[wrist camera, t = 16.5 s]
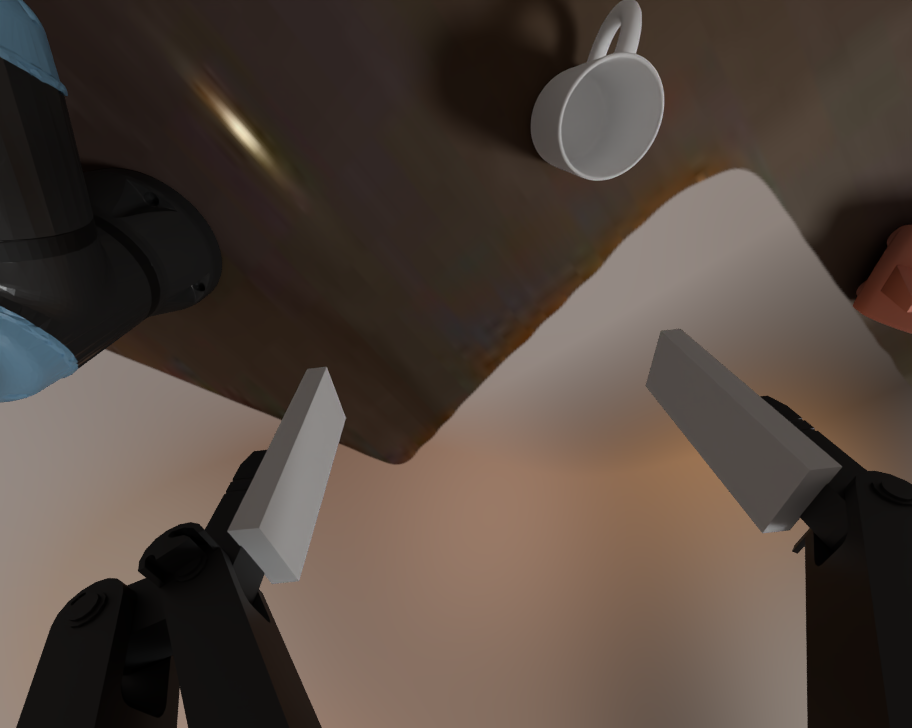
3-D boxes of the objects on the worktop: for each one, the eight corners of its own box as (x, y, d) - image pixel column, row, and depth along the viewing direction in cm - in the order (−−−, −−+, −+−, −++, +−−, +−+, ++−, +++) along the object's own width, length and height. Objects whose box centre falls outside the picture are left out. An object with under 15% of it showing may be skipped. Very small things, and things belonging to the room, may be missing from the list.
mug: (558, 3, 31) (605, -40, 23) (642, 29, 32) (717, -2, 24) (518, 157, 38) (543, 169, 29) (589, 174, 39) (633, 190, 31)
